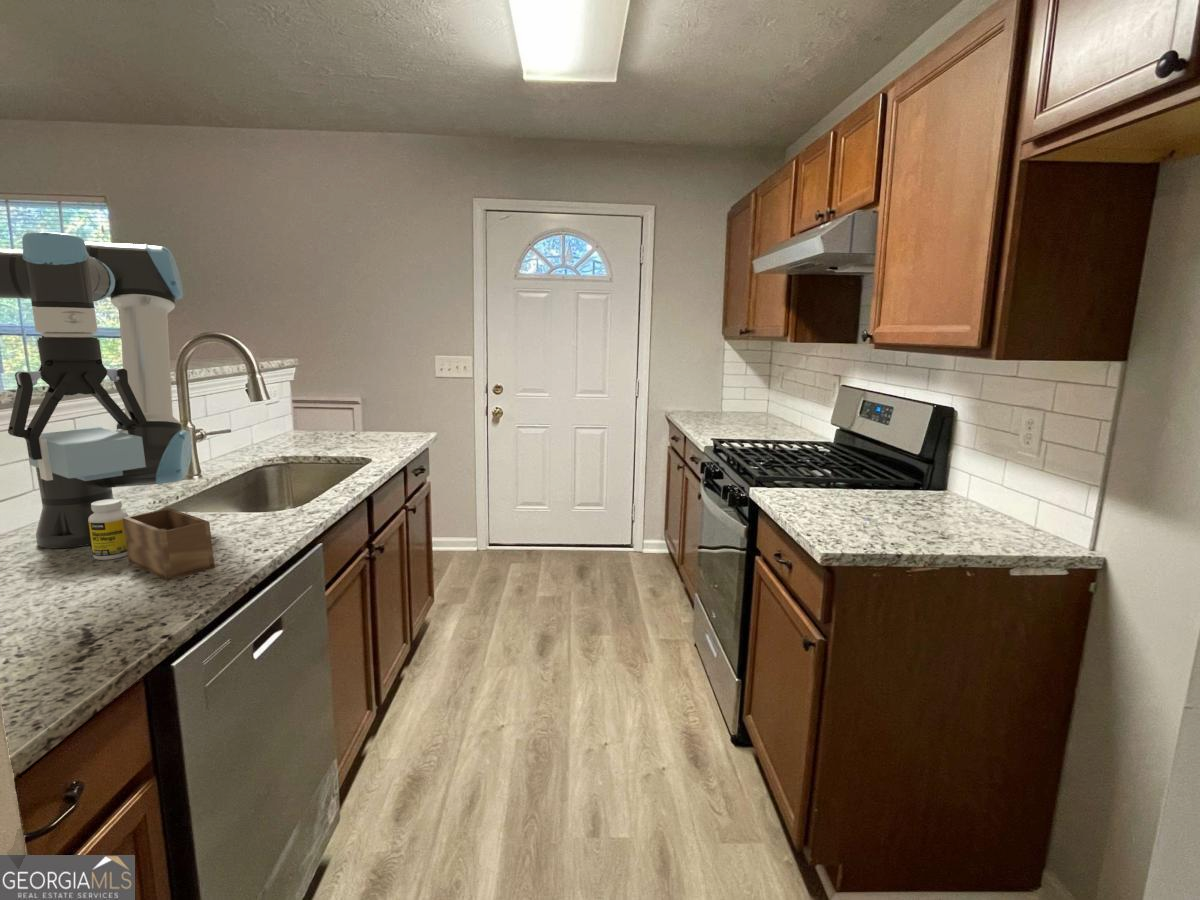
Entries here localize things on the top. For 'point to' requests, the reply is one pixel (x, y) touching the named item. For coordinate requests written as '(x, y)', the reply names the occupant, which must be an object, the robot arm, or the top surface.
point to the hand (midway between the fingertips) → (88, 473)
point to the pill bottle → (107, 529)
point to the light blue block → (93, 453)
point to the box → (168, 543)
